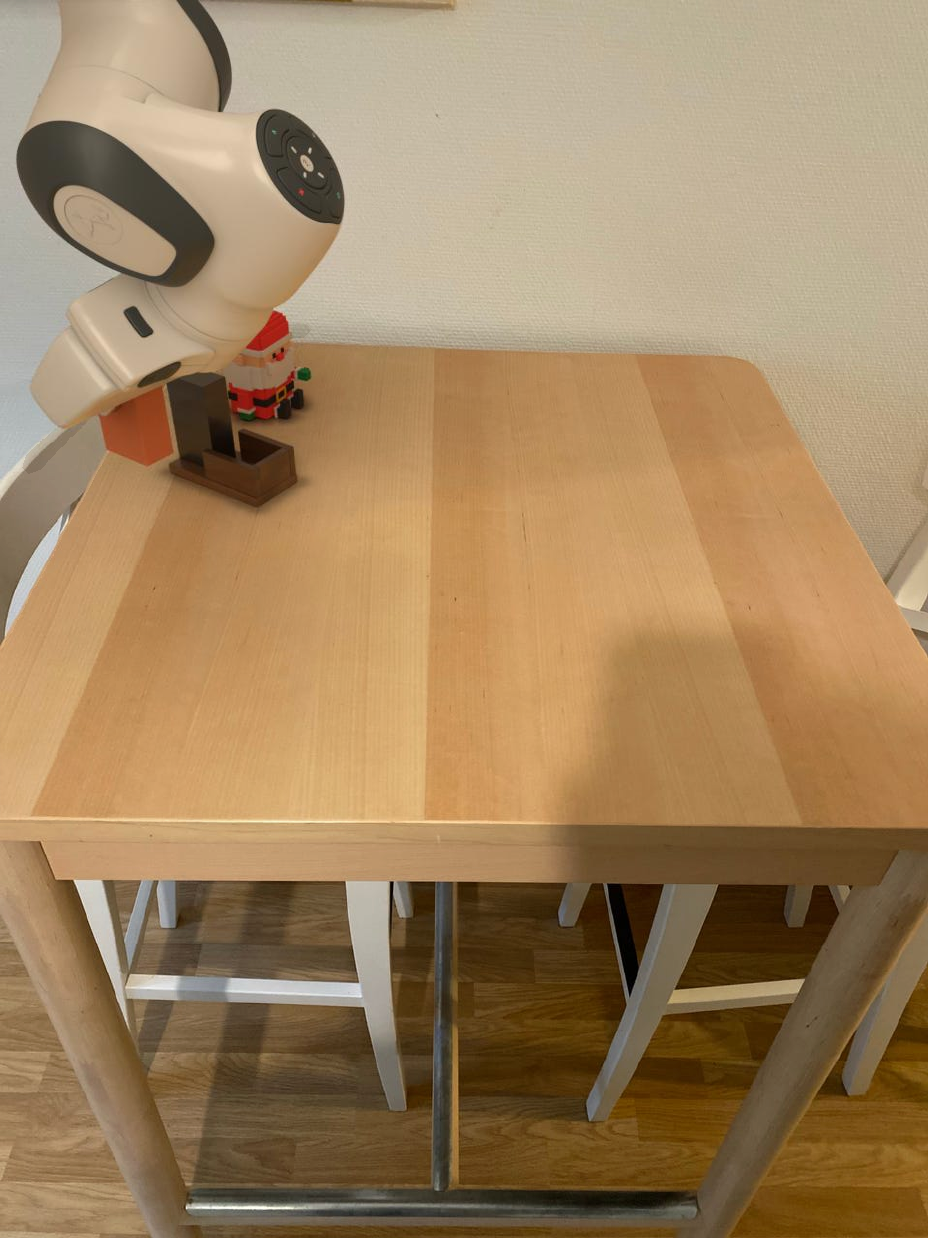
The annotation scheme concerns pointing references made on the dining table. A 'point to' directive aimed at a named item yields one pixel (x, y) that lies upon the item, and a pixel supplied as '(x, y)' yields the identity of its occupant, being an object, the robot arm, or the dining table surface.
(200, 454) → the mount
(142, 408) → the orange rectangular block
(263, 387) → the figurine
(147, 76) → the robot arm
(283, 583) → the dining table surface
